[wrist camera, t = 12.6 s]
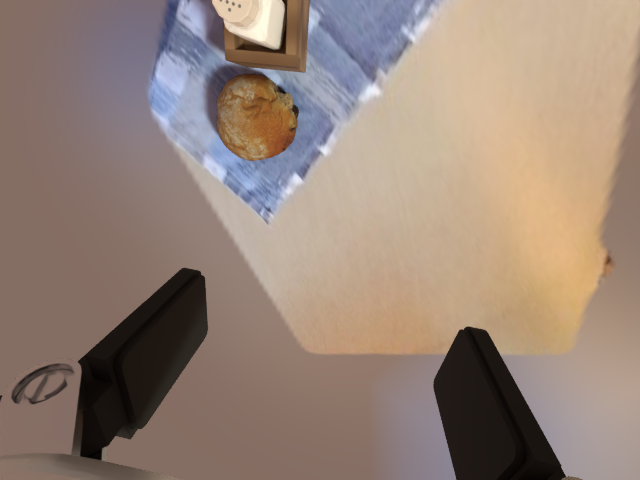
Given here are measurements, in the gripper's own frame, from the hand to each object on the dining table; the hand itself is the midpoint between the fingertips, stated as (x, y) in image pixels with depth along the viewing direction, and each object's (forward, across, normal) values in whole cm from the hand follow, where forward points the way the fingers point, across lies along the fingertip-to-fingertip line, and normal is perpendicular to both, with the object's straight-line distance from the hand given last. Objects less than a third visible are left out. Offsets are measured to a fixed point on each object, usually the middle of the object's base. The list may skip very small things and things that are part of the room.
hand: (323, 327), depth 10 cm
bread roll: (+31, +13, -4) cm, 34 cm away
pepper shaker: (+27, +12, -14) cm, 32 cm away
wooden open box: (+31, +12, -14) cm, 35 cm away
